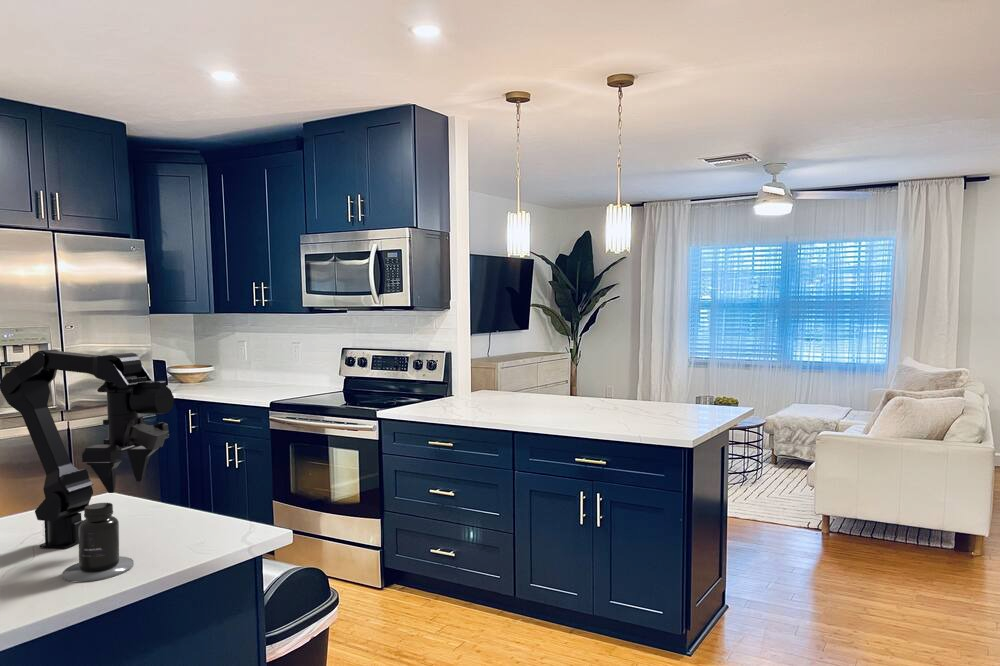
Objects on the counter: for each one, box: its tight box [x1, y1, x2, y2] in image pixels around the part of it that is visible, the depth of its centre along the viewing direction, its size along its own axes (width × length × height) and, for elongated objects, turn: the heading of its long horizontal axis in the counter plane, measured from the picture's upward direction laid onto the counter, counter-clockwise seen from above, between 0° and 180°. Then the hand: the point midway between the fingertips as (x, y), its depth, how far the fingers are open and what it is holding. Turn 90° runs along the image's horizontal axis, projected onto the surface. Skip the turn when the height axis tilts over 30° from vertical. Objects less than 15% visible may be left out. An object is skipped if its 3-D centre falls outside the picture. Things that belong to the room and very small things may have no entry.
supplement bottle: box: [78, 502, 120, 572], centre depth 135 cm, size 7×7×12 cm
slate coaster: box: [61, 555, 135, 582], centre depth 135 cm, size 12×12×1 cm
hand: (125, 487), depth 146 cm, fingers open, 9 cm apart
